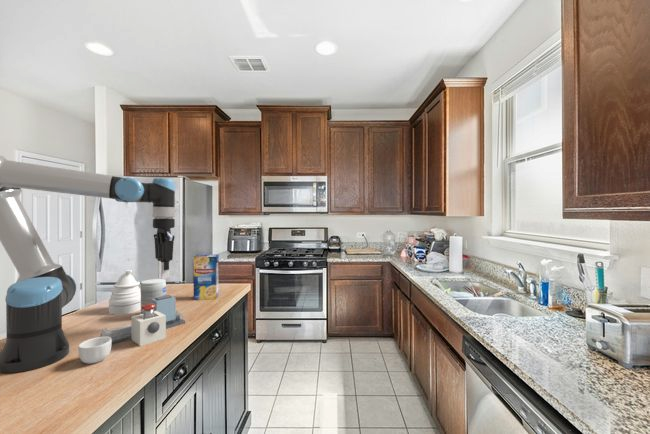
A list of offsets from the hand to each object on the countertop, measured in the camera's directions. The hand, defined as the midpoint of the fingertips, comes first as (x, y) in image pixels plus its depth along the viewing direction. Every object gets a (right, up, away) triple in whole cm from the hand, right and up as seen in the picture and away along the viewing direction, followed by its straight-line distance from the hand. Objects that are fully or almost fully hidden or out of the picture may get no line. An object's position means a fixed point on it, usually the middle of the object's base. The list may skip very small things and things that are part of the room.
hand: (163, 277), depth 114 cm
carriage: (0, -17, 0) cm, 17 cm away
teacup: (-5, -19, -27) cm, 33 cm away
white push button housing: (+2, -19, -13) cm, 23 cm away
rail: (-4, -18, -5) cm, 20 cm away
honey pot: (-27, -18, +18) cm, 37 cm away
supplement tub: (-11, -19, +11) cm, 24 cm away
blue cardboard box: (+2, -18, +37) cm, 42 cm away
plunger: (+2, -14, -13) cm, 20 cm away
